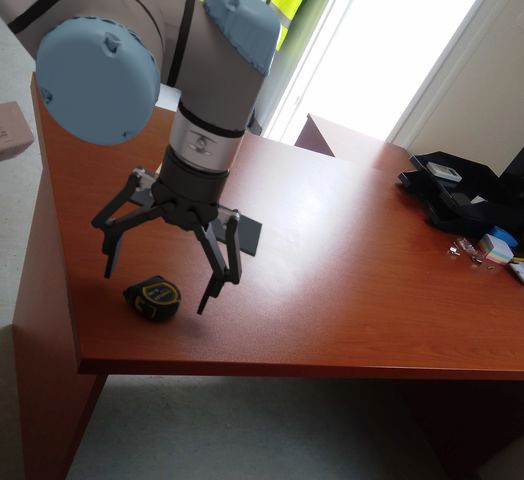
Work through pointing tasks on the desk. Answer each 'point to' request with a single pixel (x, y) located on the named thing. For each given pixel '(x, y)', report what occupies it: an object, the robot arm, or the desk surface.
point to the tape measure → (154, 298)
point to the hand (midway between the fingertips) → (156, 291)
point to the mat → (217, 223)
